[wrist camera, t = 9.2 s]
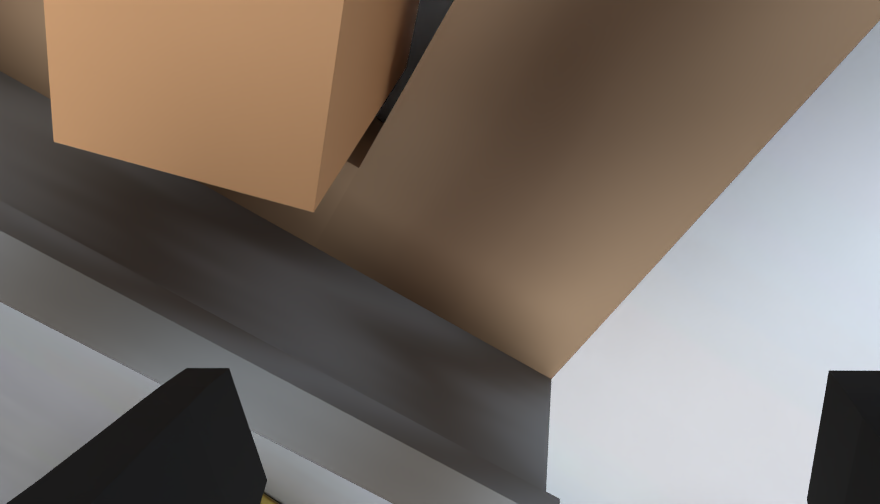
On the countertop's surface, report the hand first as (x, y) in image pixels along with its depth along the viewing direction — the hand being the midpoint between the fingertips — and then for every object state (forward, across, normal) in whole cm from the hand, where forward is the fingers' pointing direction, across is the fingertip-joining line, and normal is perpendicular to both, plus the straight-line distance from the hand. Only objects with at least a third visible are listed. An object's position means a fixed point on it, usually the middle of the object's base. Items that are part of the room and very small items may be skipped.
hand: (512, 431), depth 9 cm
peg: (+10, +4, -4) cm, 11 cm away
